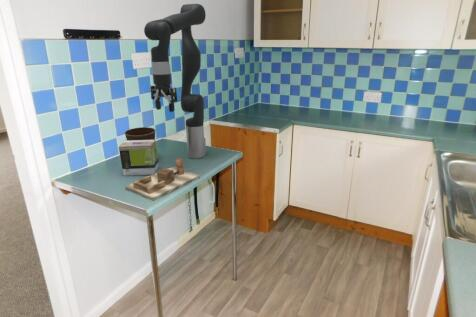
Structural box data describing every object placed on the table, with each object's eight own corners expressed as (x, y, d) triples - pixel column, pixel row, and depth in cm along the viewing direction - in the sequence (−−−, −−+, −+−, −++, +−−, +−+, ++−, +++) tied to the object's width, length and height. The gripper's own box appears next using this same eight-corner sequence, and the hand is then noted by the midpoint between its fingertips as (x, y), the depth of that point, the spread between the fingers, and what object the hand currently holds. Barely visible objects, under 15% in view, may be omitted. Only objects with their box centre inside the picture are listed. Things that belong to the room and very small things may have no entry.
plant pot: (149, 166, 159) (146, 136, 153) (123, 164, 162) (118, 134, 156) (163, 156, 172) (160, 128, 167) (138, 154, 176) (134, 126, 170)
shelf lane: (172, 168, 156) (172, 161, 155) (199, 177, 146) (199, 170, 145) (125, 188, 136) (124, 181, 135) (153, 200, 126) (152, 192, 125)
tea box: (159, 167, 158) (156, 138, 153) (155, 175, 149) (151, 145, 144) (128, 167, 158) (124, 139, 153) (122, 176, 149) (118, 146, 143)
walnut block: (178, 171, 150) (177, 157, 148) (187, 173, 148) (185, 159, 146) (158, 182, 139) (156, 167, 136) (167, 184, 137) (165, 169, 134)
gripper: (179, 72, 134) (182, 110, 140) (157, 71, 142) (160, 107, 148) (166, 74, 128) (169, 114, 134) (143, 72, 136) (147, 110, 142)
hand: (165, 110), depth 141 cm, fingers open, 8 cm apart
